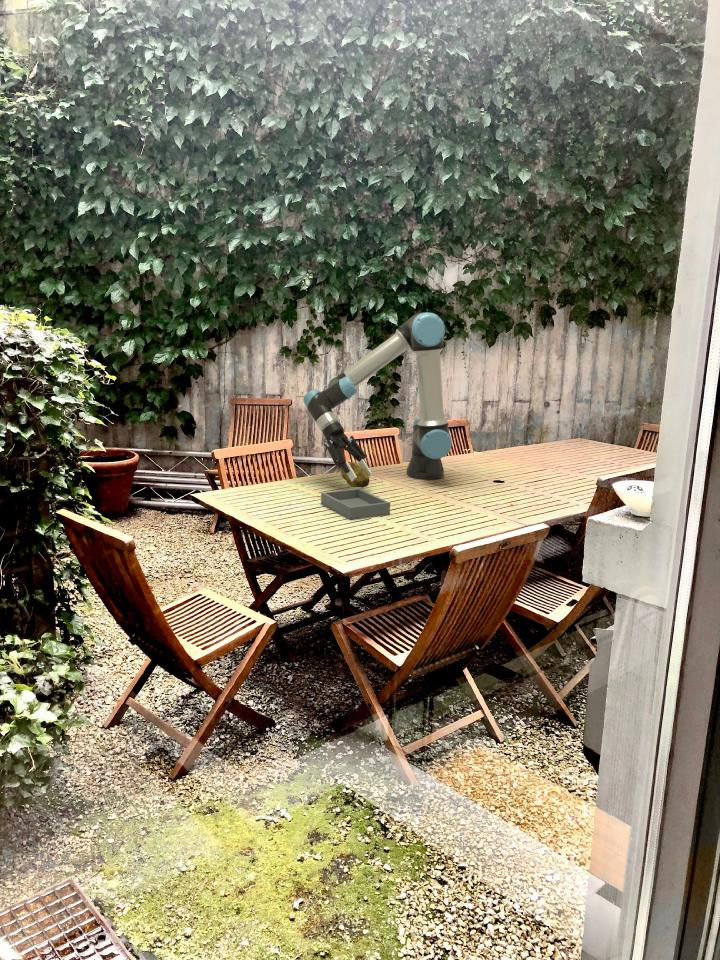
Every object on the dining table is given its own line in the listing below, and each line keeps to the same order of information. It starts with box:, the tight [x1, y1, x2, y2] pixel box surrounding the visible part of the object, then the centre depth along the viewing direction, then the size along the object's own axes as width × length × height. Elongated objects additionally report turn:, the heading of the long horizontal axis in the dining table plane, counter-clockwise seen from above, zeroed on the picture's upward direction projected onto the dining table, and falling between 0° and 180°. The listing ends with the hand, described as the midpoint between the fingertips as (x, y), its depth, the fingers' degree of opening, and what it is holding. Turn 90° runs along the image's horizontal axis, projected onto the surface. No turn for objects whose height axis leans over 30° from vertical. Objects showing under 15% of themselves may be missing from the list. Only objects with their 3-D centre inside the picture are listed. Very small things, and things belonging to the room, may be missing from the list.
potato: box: [340, 461, 370, 489], centre depth 255 cm, size 8×13×8 cm, turn 19°
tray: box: [320, 488, 391, 521], centre depth 235 cm, size 20×15×4 cm
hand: (361, 477), depth 253 cm, fingers closed on potato, 7 cm apart
